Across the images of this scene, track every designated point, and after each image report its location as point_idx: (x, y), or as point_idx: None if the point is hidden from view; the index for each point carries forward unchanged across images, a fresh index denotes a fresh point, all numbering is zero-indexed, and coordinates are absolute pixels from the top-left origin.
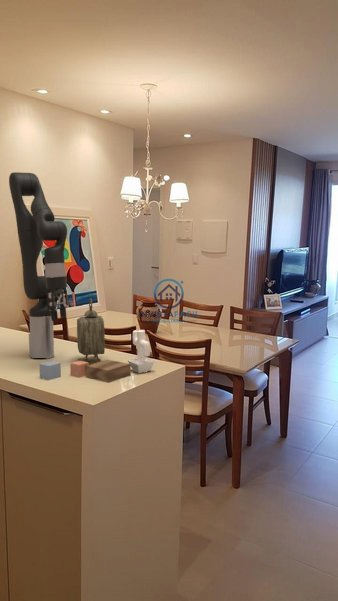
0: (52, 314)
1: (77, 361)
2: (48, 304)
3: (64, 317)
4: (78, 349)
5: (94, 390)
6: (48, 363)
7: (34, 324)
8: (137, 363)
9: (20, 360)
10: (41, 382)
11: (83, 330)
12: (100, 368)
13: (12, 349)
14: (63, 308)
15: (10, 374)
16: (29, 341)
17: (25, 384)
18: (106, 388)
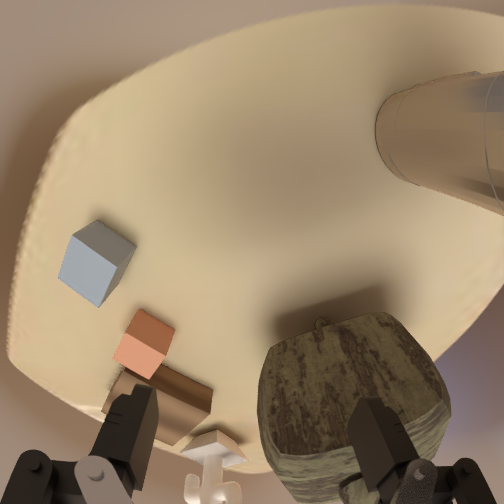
0: (102, 435)
1: (152, 350)
2: (17, 495)
3: (349, 420)
4: (347, 322)
5: (55, 366)
6: (83, 267)
7: (485, 101)
8: (190, 452)
9: (356, 57)
10: (59, 242)
11: (263, 438)
12: (110, 400)
13: (489, 31)
14: (373, 482)
15: (127, 95)
16: (451, 77)
17: (38, 203)
18: (74, 385)
